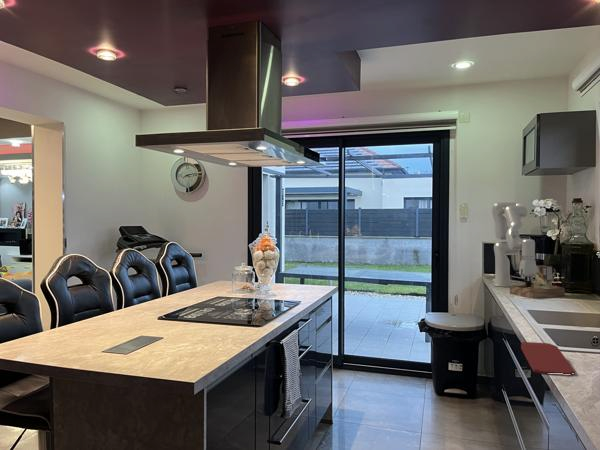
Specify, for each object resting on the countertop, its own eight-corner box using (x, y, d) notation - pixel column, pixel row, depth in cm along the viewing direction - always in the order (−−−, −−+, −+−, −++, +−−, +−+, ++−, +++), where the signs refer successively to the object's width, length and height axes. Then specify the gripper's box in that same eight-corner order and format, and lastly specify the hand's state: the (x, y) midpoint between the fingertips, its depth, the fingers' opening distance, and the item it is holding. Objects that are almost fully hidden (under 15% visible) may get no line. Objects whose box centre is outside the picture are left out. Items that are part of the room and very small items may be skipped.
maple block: (528, 287, 297) (528, 281, 297) (534, 287, 298) (534, 281, 298) (534, 289, 292) (534, 282, 292) (540, 288, 294) (540, 282, 294)
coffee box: (553, 290, 307) (553, 266, 307) (547, 291, 305) (547, 267, 304) (541, 288, 316) (541, 265, 315) (534, 289, 313) (534, 265, 313)
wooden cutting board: (509, 293, 296) (509, 286, 296) (540, 291, 304) (540, 283, 304) (532, 298, 279) (532, 290, 279) (564, 295, 287) (564, 287, 287)
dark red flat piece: (575, 387, 148) (552, 353, 172) (576, 373, 147) (553, 340, 171) (534, 384, 151) (517, 351, 175) (535, 370, 150) (518, 339, 174)
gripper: (532, 257, 300) (532, 285, 300) (514, 258, 295) (514, 286, 295) (542, 258, 292) (542, 287, 293) (523, 259, 288) (523, 288, 288)
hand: (528, 286), depth 294 cm, fingers closed
